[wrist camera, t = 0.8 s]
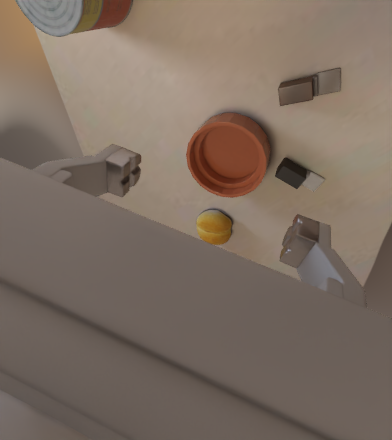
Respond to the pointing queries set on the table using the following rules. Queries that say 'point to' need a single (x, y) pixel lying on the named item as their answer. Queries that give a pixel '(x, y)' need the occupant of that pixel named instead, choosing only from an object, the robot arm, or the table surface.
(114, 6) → the canned food
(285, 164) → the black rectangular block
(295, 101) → the block
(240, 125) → the bowl
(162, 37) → the table surface
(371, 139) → the table surface
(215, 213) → the bread roll
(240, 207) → the table surface
